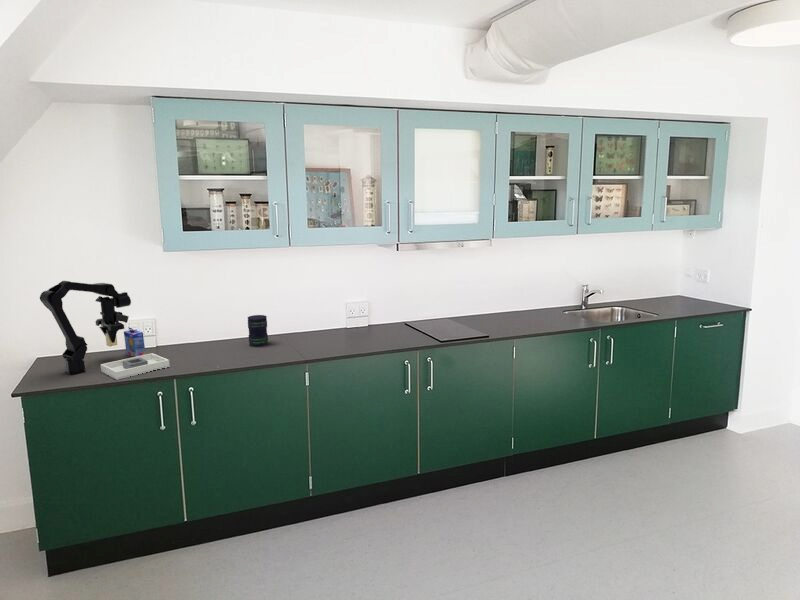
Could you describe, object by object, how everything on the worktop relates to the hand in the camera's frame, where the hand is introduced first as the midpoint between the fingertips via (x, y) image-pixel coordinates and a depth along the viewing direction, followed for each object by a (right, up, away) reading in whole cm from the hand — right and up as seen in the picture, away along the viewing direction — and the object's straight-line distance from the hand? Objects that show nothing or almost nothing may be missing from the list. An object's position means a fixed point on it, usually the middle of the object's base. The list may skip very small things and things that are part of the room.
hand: (111, 341), depth 286 cm
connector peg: (0, -2, 0) cm, 2 cm away
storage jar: (+63, -4, +30) cm, 70 cm away
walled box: (+16, -12, -10) cm, 22 cm away
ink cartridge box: (+6, -8, +12) cm, 16 cm away
